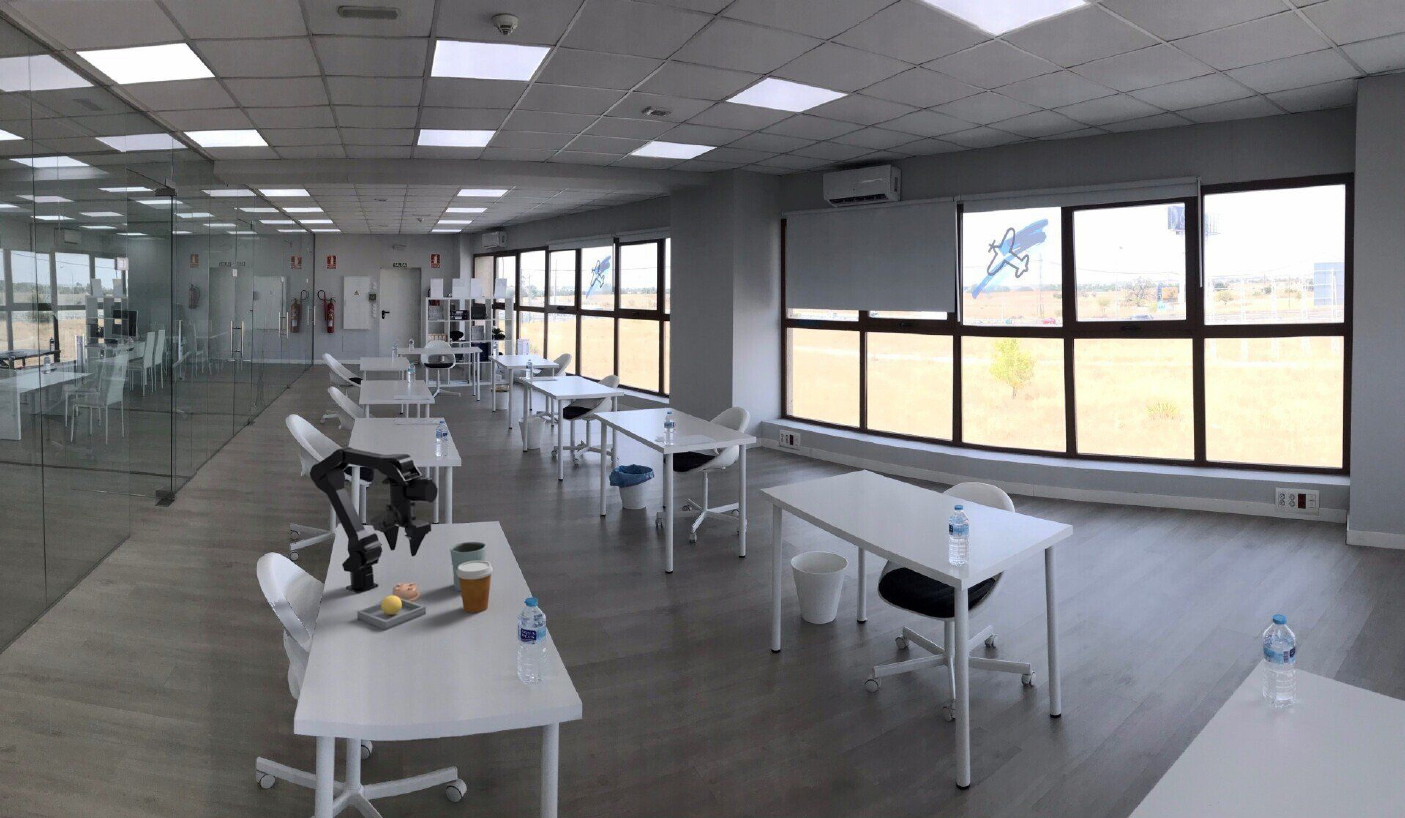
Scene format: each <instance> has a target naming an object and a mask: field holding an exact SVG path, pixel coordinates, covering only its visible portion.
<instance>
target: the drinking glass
mask: <svg viewBox="0 0 1405 818" xmlns="http://www.w3.org/2000/svg"><path fill="white" fill-rule="evenodd" d="M449 549H450V556H451V557H450V558H451V565H452V572H453V573H452V574H453V585H454V590H456V591H458V592H461V589H460V584H459V577H458V576H457V573H456V571H457V570H458V566H459V565H461V564H463V563H465V562H470V561H486V558H487V557H486V556H487V545H486V543H485V542H479V541H466V542H460V543H456V544H454V545H452V546H451V547H450V548H449Z"/></svg>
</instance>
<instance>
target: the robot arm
mask: <svg viewBox="0 0 1405 818" xmlns="http://www.w3.org/2000/svg"><path fill="white" fill-rule="evenodd" d="M349 465H352V466H357V467H362V468H367V469H373V470H377V472H378V471H379V473H380V474H381V475H383V476H386V477H385V479H383V480H382V481H381V483H382V484H384V485H388V491H389V494H388V495H389V503H386V505H385V510H383V511H382V512H379V513H378V514H376V515H374V517H372V518H371V519H370V523H371V525H372V527H373V530H374V531H375V532H373V533H370V532H369V531H367V530H366V529H365V526H364V524H363V523H362V520H361V518H360V516H359V514H358V512H357V509H356V508H355V506H354V504H353V501H352V500H351V497H350V495H349V493H348V491H347V489H346V487H345V483H346V474H345V470H346V469H347V468H349ZM309 477H310V479H311V481H312V482H313V483H314V485H315V486H316V487H317V488H318V489H319V490H321V491H322V492H323V493H325V494H326V495H327V498H328V499H329V501H330V504H331V506H332V508H333V510H334V512H335V514H336V516H337V519H338V520H339V522H340V524H341V526H342V528H343V530H344V532H345V534H346V536H347V538H348V539H347V541H348V542H347V553H348V555H349V556H348V557H347V558H346V559H345V560H344V561H343V562H342V564H341V566H342V568H343V571H344V572H347V573H350V576H349V578H350V585H347V586H345V589H347V590H350V591H352V592H355V593H363V592H365V591H369V590H371V589H374V588H377V587H379V584H378V583H376V582H375V580H374V567H373V566H375V565H377V564H378V563H379V561H380V558H381V556H382V554H383V548H382V545H383V543H382V542H381V541H380V539H379V536H378V534H377V532H380V533H383V535H384V537H385V539H386V541H387V544H388V547H389V549H390V551H395V550H396V547H397V542H398V535H399V530H400V528H403V529H404V533H405V534H404V537H406V538H407V539H408V543H409V549H410V550H409V552H410V555H411V557H415V556H416V555H417V553H418V550H419V548H420V547H421V545H422V542H423V540H424V539H425V538H426V536H427V535H428V534H429V533H430V532H432V523H430V522H429V521H426V520H423V519H418V520H417V519H416V518H417V517H416V515H413V507H415V506H416V502H420V503H429V504H430V503H433V502H435V500H436V499H437V497H438V492H439V490H438V489H439V488H438V487H437V484H436V483H435V482H433V477H423V475H422V472H421V471H420V470H419V468H418V466H417V465H416V464H415V462H414V460H413V458H412V456H411V455H410V454H407V453H394V454H393V453H391V454H382V453H378V452H377V453H376V452H372V451H367V450H361V449H356V448H353V447H350V446H345V447H342V448H336V450H335V451H333V452H332V453H331V454H330V455H329V456H327V457H325V458H324V459H323V460H321V461H319V462H318V463H315V464H313V465H312V467H311V468H310V472H309ZM376 531H377V532H376Z"/></svg>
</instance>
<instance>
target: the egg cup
mask: <svg viewBox="0 0 1405 818" xmlns="http://www.w3.org/2000/svg"><path fill="white" fill-rule="evenodd" d="M392 595H393V596H397V597H399V598H402V599H405V600H408V601H411V602H415V601H416V600H418V599H420V597H421V593H420V592H419V591H418V585H417V584H416V583H415V582H409V583H402V582H399V583H397V584H396V585H395V586H394V587H393V588H392Z"/></svg>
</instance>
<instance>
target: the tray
mask: <svg viewBox="0 0 1405 818" xmlns="http://www.w3.org/2000/svg"><path fill="white" fill-rule="evenodd" d="M400 600H401V602H402V606H401V609H400V611H399V612H398V613H396V614H394V615H387V614H385V613H384V612H383V611H382V608H381V604H382V602H379V603H376V604H374V605H372V606H371V605H370V606H369V607H366V608H363V609H361V610H358V611H357V612H356V615H357V620H359V621H361V622H364V623H366V624H369V625H373V626H375V627H377V628H380V629H382V630H385V631H387V630H390V629H393V628H394V627H397V626H400V625H402V624H404V623H407V622H409V621H412V620H415V619H417V618H419V617H422V616H425V615H426V614H427V607H426V606H425V605H422V604H419V603H417V602H415V601H412V602H411V601H408V600H405V599H402V598H400Z"/></svg>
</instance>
